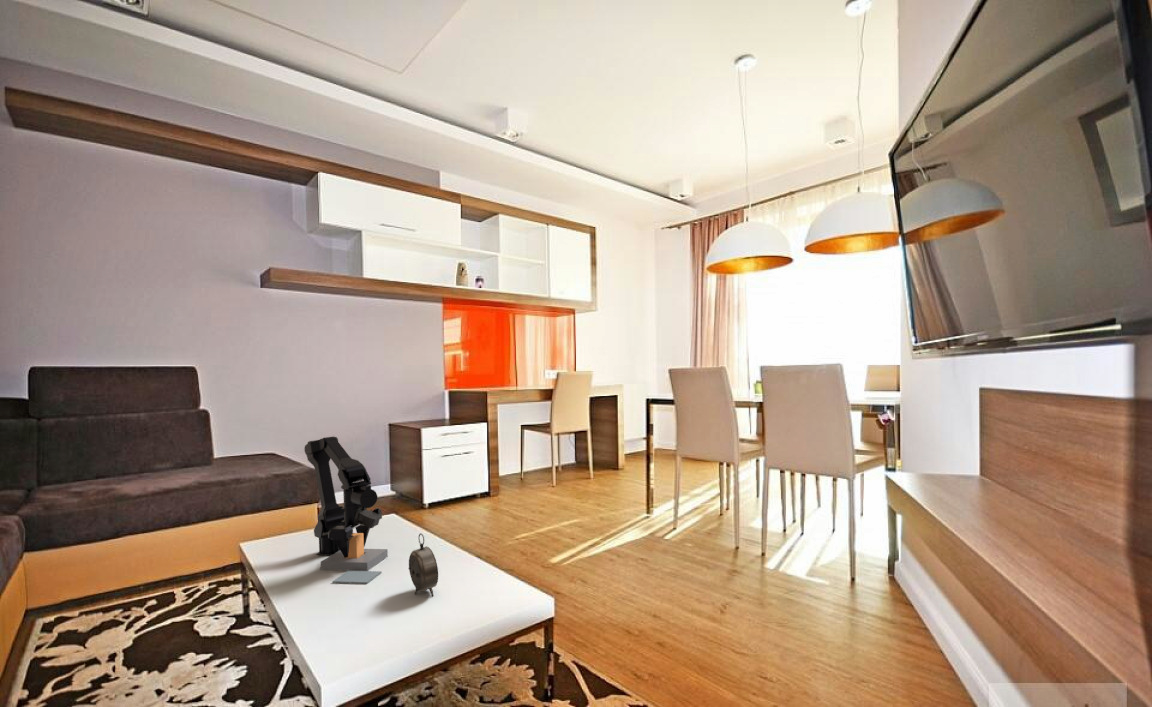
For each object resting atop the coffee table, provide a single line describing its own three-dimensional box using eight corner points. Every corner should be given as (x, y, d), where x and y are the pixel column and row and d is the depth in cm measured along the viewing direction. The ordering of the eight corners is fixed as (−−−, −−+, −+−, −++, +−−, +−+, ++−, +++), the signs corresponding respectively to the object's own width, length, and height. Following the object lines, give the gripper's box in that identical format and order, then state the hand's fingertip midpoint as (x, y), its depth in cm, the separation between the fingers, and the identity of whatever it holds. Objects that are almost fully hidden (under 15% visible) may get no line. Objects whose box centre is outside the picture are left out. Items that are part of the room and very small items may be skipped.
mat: (332, 583, 153) (332, 581, 153) (348, 572, 161) (348, 570, 161) (366, 583, 151) (366, 582, 151) (381, 573, 159) (381, 571, 159)
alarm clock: (440, 596, 141) (438, 535, 142) (420, 602, 138) (418, 540, 138) (424, 584, 150) (422, 527, 150) (406, 589, 146) (404, 531, 147)
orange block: (345, 565, 167) (344, 537, 167) (353, 560, 171) (352, 533, 171) (357, 565, 167) (356, 537, 167) (364, 560, 170) (363, 533, 171)
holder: (320, 569, 164) (320, 561, 164) (343, 555, 176) (343, 548, 176) (367, 570, 162) (367, 562, 162) (387, 556, 173) (387, 549, 174)
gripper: (359, 511, 159) (361, 563, 158) (391, 496, 177) (392, 542, 177) (326, 511, 161) (327, 562, 160) (361, 496, 179) (362, 542, 179)
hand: (354, 551), depth 169 cm, fingers open, 9 cm apart
